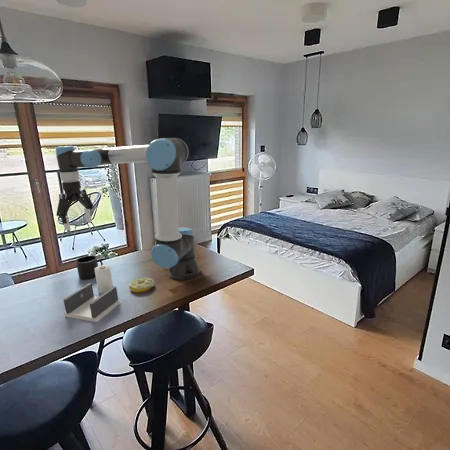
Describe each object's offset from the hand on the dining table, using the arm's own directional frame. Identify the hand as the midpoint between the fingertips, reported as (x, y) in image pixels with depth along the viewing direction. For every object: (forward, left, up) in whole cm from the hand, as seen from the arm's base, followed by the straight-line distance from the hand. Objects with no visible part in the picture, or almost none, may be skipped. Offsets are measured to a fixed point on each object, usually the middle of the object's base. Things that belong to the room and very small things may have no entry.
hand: (78, 225), depth 149 cm
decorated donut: (-34, +4, -27) cm, 43 cm away
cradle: (-25, +25, -26) cm, 44 cm away
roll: (-19, +10, -26) cm, 34 cm away
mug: (-1, -2, -27) cm, 27 cm away
